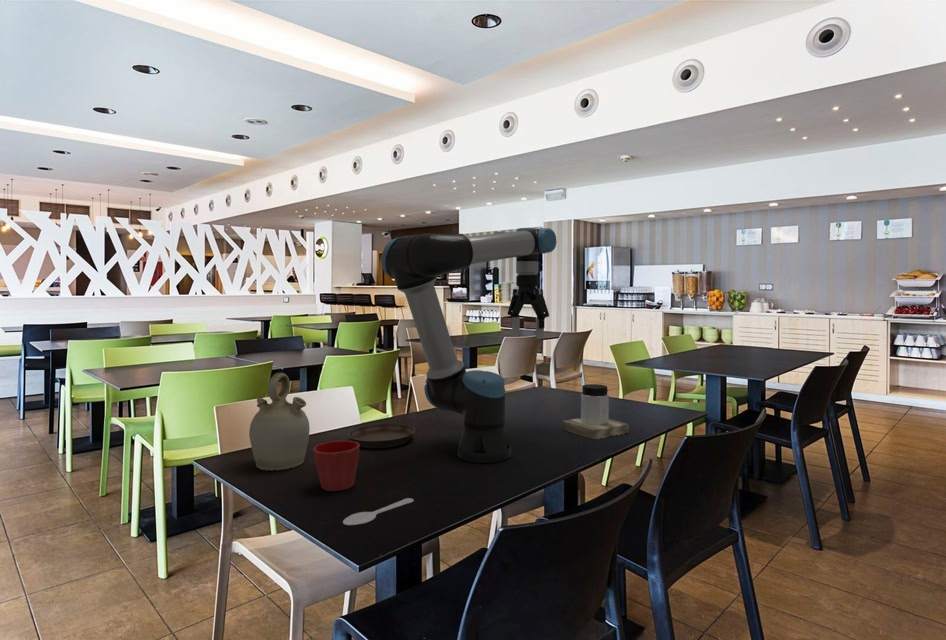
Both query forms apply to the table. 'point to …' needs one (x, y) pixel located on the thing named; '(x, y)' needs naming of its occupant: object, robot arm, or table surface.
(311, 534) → the table surface
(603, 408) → the jar
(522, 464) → the table surface
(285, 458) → the jug
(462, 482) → the table surface
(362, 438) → the plant saucer
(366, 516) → the spoon
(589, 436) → the base board
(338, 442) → the flower pot
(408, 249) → the robot arm
